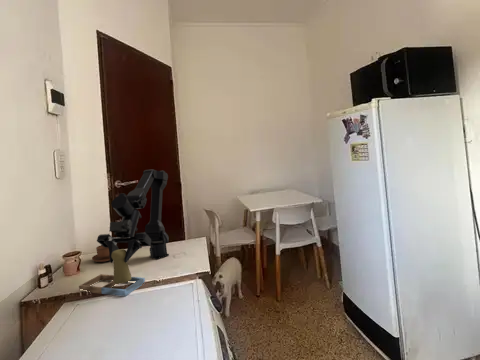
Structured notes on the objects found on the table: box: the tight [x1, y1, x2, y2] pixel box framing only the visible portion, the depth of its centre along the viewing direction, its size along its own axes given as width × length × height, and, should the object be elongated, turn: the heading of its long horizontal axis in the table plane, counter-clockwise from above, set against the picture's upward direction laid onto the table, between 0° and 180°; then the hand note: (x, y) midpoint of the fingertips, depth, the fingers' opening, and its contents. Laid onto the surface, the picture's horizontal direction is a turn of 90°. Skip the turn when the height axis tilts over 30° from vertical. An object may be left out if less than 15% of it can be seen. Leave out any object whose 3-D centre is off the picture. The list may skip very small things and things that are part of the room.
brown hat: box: [91, 244, 110, 263], centre depth 155 cm, size 12×12×6 cm
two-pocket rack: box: [78, 273, 146, 297], centre depth 122 cm, size 20×11×2 cm, turn 68°
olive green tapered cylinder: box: [111, 248, 133, 285], centre depth 120 cm, size 6×6×11 cm
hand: (118, 262), depth 118 cm, fingers closed on olive green tapered cylinder, 5 cm apart
